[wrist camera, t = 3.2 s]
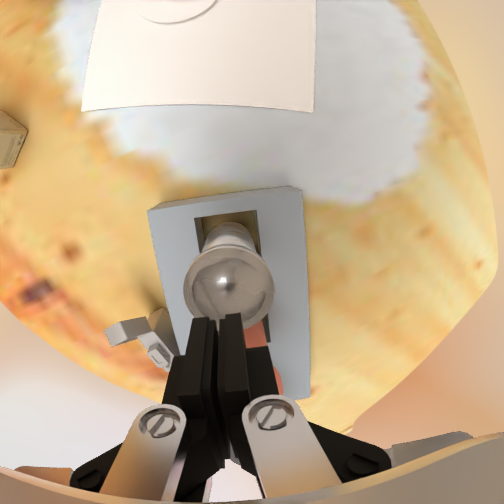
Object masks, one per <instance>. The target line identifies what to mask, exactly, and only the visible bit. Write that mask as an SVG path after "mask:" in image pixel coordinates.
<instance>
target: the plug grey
mask: <svg viewBox="0 0 504 504" xmlns="http://www.w3.org/2000/svg"><path fill="white" fill-rule="evenodd" d="M274 293H275V287H274V281H273V278H272V275H271V272H270V270H269V267H268V265H267V264H266V262H265V261H264V260H263V259H262V257H261V256H260V255H258V254H257V253H256V249H255V246H254V242H253V239H252V236H251V234H250V232H249V231H248V230H247V228H245V227H244V226H243V225H241V224H239V223H236V222H222V223H220V224H218V225H216V226H214V227H213V228H212V229H211V230H210V232H209V233H208V235H207V238H206V241H205V244H204V247H203V250H202V252H201V253H200V254H199V255H198V256H197V257H196V258H195V259H194V260H193V262H192V263H191V265H190V267H189V269H188V271H187V274H186V277H185V280H184V285H183V295H184V300H185V303H186V306H187V308H188V309H189V311H190V313H191V314H192V315H193V316H194V317H195V318H199V317H208V316H209V319H210V320H215V321H216V325H217V330H218V331H219V320H220V319H225V314H232V313H240V312H241V316H242V323H243V329H247V328H249V327H251V326H253V325H255V324H256V323H258V322H259V321H260V320H261V319H263V318H264V317H265V315H266V314H267V313H268V311H269V309H270V308H271V305H272V303H273V299H274Z"/></svg>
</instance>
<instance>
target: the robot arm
mask: <svg viewBox="0 0 504 504" xmlns="http://www.w3.org/2000/svg"><path fill="white" fill-rule="evenodd" d="M230 442H231V445H232V449H233V452H234V455H235V458H239V461H240V464H241V468H242V469H244V470H246V471H247V472H249V473H251V474H252V475H254V476H256V480H257V483H258V487H259V490H260V492H261V495H262V499H257V500H247V501H234V502H211V503H210V502H209V497H210V492H211V487H212V477H211V476H212V475H213V474H215V473H216V472H217V471H219V469H221V468H225V459H230V458H231V451H230ZM0 504H504V432H499V433H494V434H488V435H484V436H480V437H475V438H473V437H472V436H471V435H469V434H468V433H465V432H460V431H458V432H451V433H447V434H443V435H439V436H435V437H430V438H426V439H422V440H417V441H412V442H406V443H401V444H395V445H392V448H390V449H384V450H383V449H381V448H379V447H377V446H375V445H372V444H369V443H366V442H362V441H360V440H357V439H354V438H351V437H348V436H345V435H342V434H340V433H337V432H334V431H332V430H329V429H326V428H324V427H321V426H319V425H316V424H314V423H311V422H309V421H307V420H306V418H305V416H304V414H303V413H302V411H301V409H300V407H299V406H298V404H297V403H296V402H295V401H294V400H292V399H290V398H289V397H285V396H282V395H279V391H278V386H277V382H276V378H275V373H274V369H273V364H272V360H271V355H270V351H269V347H268V345H267V346H260V347H253V348H246V342H245V336H244V329H243V323H242V316H241V312H240V313H232V314H225V319H220V320H219V335H218V330H217V325H216V321H215V320H210V319H209V316H208V317H199V318H193V319H192V323H191V328H190V333H189V338H188V342H187V347H186V352H185V355H178V356H174V357H173V359H172V363H171V367H170V371H169V375H168V380H167V384H166V388H165V392H164V396H163V400H162V404H158V405H154V406H151V407H149V408H146V409H145V410H143V411H142V412H141V413H139V414H138V416H137V417H136V419H135V420H134V422H133V424H132V426H131V428H130V430H129V432H128V434H127V436H126V439H125V440H124V442H123V443H121V444H119V445H118V446H116V447H114V448H112V449H111V450H109V451H107V452H105V453H103V454H102V455H100V456H98V457H96V458H95V459H93V460H91V461H89V462H87V463H85V464H83V465H82V466H80V467H79V468H77V469H76V470H75V471H73V470H72V469H71V468H49V467H31V466H22V467H18V468H16V469H15V470H12V469H8V468H4V467H0Z"/></svg>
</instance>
